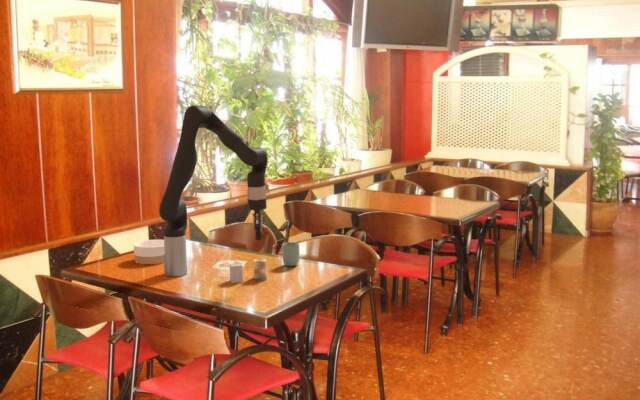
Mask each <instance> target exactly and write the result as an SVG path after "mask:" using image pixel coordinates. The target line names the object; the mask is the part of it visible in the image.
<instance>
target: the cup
mask: <svg viewBox="0 0 640 400" xmlns="http://www.w3.org/2000/svg"><path fill="white" fill-rule="evenodd" d="M281 256H282V263H283V264H284V266H287V267H295V266H298V264H299V262H300V243H299V242H293V241H289V242H287V241H286V242H284V243H282V244H281Z"/></svg>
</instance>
